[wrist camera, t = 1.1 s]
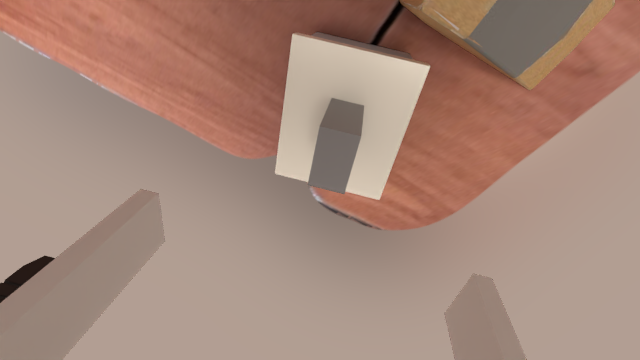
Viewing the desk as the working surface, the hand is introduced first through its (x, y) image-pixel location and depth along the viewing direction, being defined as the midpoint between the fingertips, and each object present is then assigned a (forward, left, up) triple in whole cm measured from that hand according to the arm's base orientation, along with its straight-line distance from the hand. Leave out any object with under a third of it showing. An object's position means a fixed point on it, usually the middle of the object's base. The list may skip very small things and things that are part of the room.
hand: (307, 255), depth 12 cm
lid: (0, 0, -16) cm, 16 cm away
